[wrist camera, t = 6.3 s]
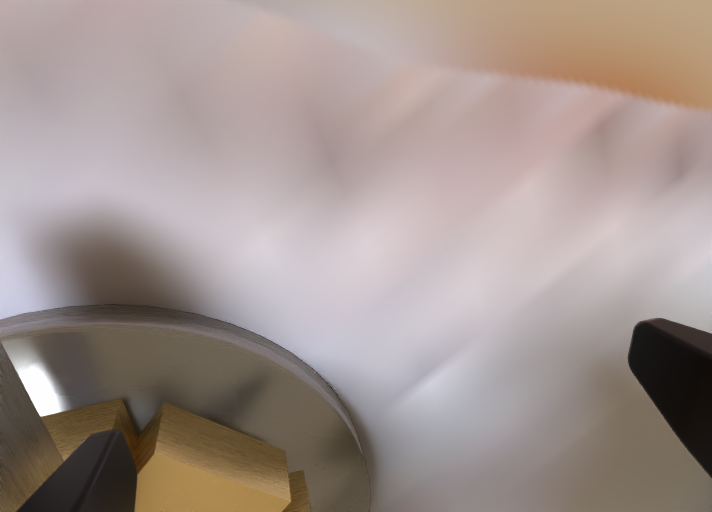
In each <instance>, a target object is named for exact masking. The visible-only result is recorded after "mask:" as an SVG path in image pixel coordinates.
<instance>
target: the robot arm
mask: <svg viewBox="0 0 712 512" xmlns="http://www.w3.org/2000/svg"><path fill="white" fill-rule="evenodd" d="M628 364H629V367H630V369H631V371H632V373H633V374H634V376H635V377H636V378H637V380H638V381H639V383H640V384H641V385H642V387H643V388H644V390H645V391H646V393H647V394H648V395H649V397H650V398H651V400H652V401H653V403H654V404H655V405H656V407H657V408H658V410H659V411H660V413H661V414H662V415H663V417H664V418H665V420H666V421H667V423H668V424H669V425H670V427H671V428H672V430H673V431H674V432H675V434H676V435H677V437H678V438H679V439H680V441H681V442H682V443H683V445H684V446H685V447H686V448H687V449H688V451H689V452H690V453H691V454H692V456H693V457H694V458H695V459H696V460H697V462H698V463H699V464H700V465H701V466H702V468H703V469H704V470H705V471H706V472H707V473H708V475H709V476H710V477H711V478H712V334H711V333H708V332H705V331H702V330H698V329H695V328H692V327H689V326H685V325H682V324H679V323H676V322H673V321H669V320H666V319H662V318H654V319H649V320H644V321H640V322H638V323H637V324H636V326H635V327H634V330H633V335H632V339H631V344H630V349H629V353H628ZM136 490H137V468H136V464H135V462H134V459H133V457H132V454H131V452H130V449H129V447H128V444H127V442H126V440H125V437H124V435H123V433H122V432H121V431H120V430H118V429H112V430H107V431H102V432H97V433H94V434H91V435H90V436H88V437H87V438H86V439H85V440H84V441H83V442H82V443H81V444H80V445H79V446H78V447H77V448H76V449H75V451H74V452H73V453H72V454H71V455H70V456H69V457H68V458H67V459H66V460H65V461H64V462H63V463H62V464H61V465H60V466H59V467H58V468H57V469H56V470H55V471H54V472H53V473H52V474H51V475H50V476H49V477H48V478H47V480H46V481H45V482H44V483H43V484H42V485H41V486H40V487H39V488H38V489H37V490H36V491H35V492H34V493H33V494H32V495H31V496H30V497H29V498H28V499H27V500H26V501H25V502H24V503H23V504H22V505H21V506H20V508H19V509H18V510H17V511H16V512H135V501H136Z"/></svg>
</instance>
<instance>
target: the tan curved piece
mask: <svg viewBox="0 0 712 512" xmlns="http://www.w3.org/2000/svg"><path fill="white" fill-rule="evenodd" d="M112 429H118V430H120V431H121V432H122V433H123V435H124V437H125V440H126V442H127V444H128V447H129V449H130V452H131V454H132V457H133V459H134V462H135V464H136V468H137V490H136V501H135V512H312V507H311V503H310V498H309V493H308V488H307V484H306V479H305V474H304V470H300V471H296V472H292V473H288V468H287V459H286V451H285V450H283V449H280V448H278V447H275V446H273V445H270V444H268V443H265V442H263V441H260V440H258V439H255V438H253V437H250V436H248V435H245V434H243V433H240V432H238V431H235V430H233V429H230V428H228V427H225V426H223V425H220V424H218V423H215V422H213V421H210V420H208V419H205V418H203V417H200V416H198V415H195V414H193V413H190V412H188V411H185V410H183V409H180V408H178V407H175V406H173V405H170V404H168V403H165V402H164V403H163V405H162V406H161V407H160V409H159V410H158V411H157V413H156V414H155V415H154V416H153V418H152V419H151V420H150V422H149V423H148V424H147V425H146V427H145V428H144V429H143V431H142V432H141V433H140V435H139V436H138V437H137V434H136V432H135V430H134V427H133V425H132V422H131V420H130V418H129V415H128V413H127V411H126V408H125V406H124V403H123V401H122V399H119V400H114V401H110V402H105V403H100V404H96V405H91V406H87V407H82V408H77V409H73V410H68V411H63V412H59V413H54V414H50V415H45V416H40V414H39V413H38V411H37V409H36V407H35V405H34V403H33V401H32V399H31V397H30V396H29V394H28V392H27V390H26V388H25V386H24V384H23V382H22V380H21V379H20V377H19V375H18V373H17V371H16V369H15V367H14V365H13V363H12V362H11V360H10V358H9V356H8V354H7V352H6V350H5V348H4V346H3V345H2V343H1V341H0V512H16V511H17V510H18V509H19V508H20V506H21V505H22V504H23V503H24V502H25V501H26V500H27V499H28V498H29V497H30V496H31V495H32V494H33V493H34V492H35V491H36V490H37V489H38V488H39V487H40V486H41V485H42V484H43V483H44V482H45V481H46V480H47V478H48V477H49V476H50V475H51V474H52V473H53V472H54V471H55V470H56V469H57V468H58V467H59V466H60V465H61V464H62V463H63V462H64V461H65V460H66V459H67V458H68V457H69V456H70V455H71V454H72V453H73V452H74V451H75V449H76V448H77V447H78V446H79V445H80V444H81V443H82V442H83V441H84V440H85V439H86V438H87V437H88V436H90V435H91V434H94V433H97V432H102V431H107V430H112Z"/></svg>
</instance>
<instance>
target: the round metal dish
mask: <svg viewBox="0 0 712 512" xmlns="http://www.w3.org/2000/svg"><path fill="white" fill-rule="evenodd" d="M0 341H1V343H2V345H3V346H4V348H5V350H6V352H7V354H8V356H9V358H10V360H11V362H12V363H13V365H14V367H15V369H16V371H17V373H18V375H19V377H20V379H21V380H22V382H23V384H24V386H25V388H26V390H27V392H28V394H29V396H30V397H31V399H32V401H33V403H34V405H35V407H36V409H37V411H38V413H39V414H40V416H45V415H50V414H54V413H59V412H63V411H68V410H73V409H77V408H82V407H87V406H91V405H96V404H100V403H105V402H110V401H114V400H119V399H122V401H123V403H124V406H125V408H126V411H127V413H128V415H129V418H130V420H131V422H132V425H133V427H134V430H135V432H136V434H137V437H138V436H139V435H140V433H141V432H142V431H143V429H144V428H145V427H146V425H147V424H148V423H149V422H150V420H151V419H152V418H153V416H154V415H155V414H156V413H157V411H158V410H159V409H160V407H161V406H162V405H163V403H164V402H165V403H168V404H170V405H173V406H175V407H178V408H180V409H183V410H185V411H188V412H190V413H193V414H195V415H198V416H200V417H203V418H205V419H208V420H210V421H213V422H215V423H218V424H220V425H223V426H225V427H228V428H230V429H233V430H235V431H238V432H240V433H243V434H245V435H248V436H250V437H253V438H255V439H258V440H260V441H263V442H265V443H268V444H270V445H273V446H275V447H278V448H280V449H283V450H285V451H286V459H287V468H288V473H292V472H296V471H300V470H304V474H305V479H306V484H307V488H308V493H309V498H310V503H311V507H312V512H370V504H371V495H370V480H369V476H368V472H367V468H366V464H365V461H364V457H363V453H362V450H361V447H360V443H359V440H358V436H357V433H356V429H355V427H354V425H353V423H352V421H351V419H350V416H349V414H348V412H347V410H346V408H345V407H344V405H343V404H342V402H341V401H340V400H339V398H338V397H337V395H336V394H335V393H334V391H333V390H332V388H331V387H330V386H329V385H328V384H327V383H326V382H325V381H324V380H323V379H322V378H321V377H320V376H319V375H318V374H317V373H316V372H315V371H314V370H313V369H312V368H310V367H309V366H308V365H306V364H305V363H304V362H302V361H301V360H300V359H298V358H297V357H296V356H294V355H293V354H292V353H290V352H289V351H287V350H285V349H283V348H282V347H280V346H278V345H276V344H274V343H273V342H271V341H269V340H267V339H265V338H264V337H262V336H259V335H257V334H254V333H252V332H250V331H247V330H245V329H242V328H240V327H237V326H235V325H232V324H230V323H226V322H223V321H219V320H216V319H212V318H208V317H205V316H201V315H197V314H194V313H188V312H182V311H176V310H170V309H163V308H157V307H146V306H128V305H92V306H71V307H63V308H56V309H50V310H43V311H36V312H30V313H24V314H20V315H17V316H13V317H9V318H5V319H1V320H0Z"/></svg>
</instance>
